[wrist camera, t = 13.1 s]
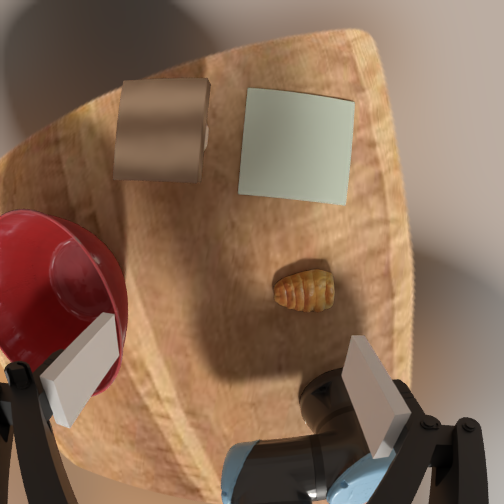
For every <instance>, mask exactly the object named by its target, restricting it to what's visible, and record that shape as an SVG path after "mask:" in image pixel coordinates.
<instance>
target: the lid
mask: <svg viewBox="0 0 504 504" xmlns="http://www.w3.org/2000/svg"><path fill="white" fill-rule="evenodd" d="M210 87H211V84H210V82H209V80H208V78H162V79H142V80H128V81H123V85H122V92H121V99H120V106H119V114H118V123H117V132H116V143H115V155H114V169H113V180H137V181H162V182H182V183H201V179H202V166H203V155H204V144H205V133H206V123H207V114H208V105H209V96H210Z"/></svg>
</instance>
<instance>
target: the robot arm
mask: <svg viewBox="0 0 504 504" xmlns="http://www.w3.org/2000/svg"><path fill="white" fill-rule="evenodd" d="M118 356H119V350H118V342H117V334H116V325H115V315H114V314H110V313H104V312H103V313H102V314H100V315H99V316H98V317H97V318H96V319H95V320H94V321H93V322H92V323H91V324H90V325H89V326H88V327H87V328H86V329H85V330H84V331H83V332H82V333H81V334H80V335H79V336H78V337H77V338H76V339H75V340H74V341H73V342H72V343H71V344H70V345H69V346H68V347H67V348H66V349H65V350H63V349H59V350H57V351H55V352H53V353H52V354H51V355H50V356H49V357H48V358H47V359H46V360H45V361H44V362H43V364H41V365H40V366H39V367H38V368H37V369H36V370H35V371H34V372H33V373H32V371H31V368H30V365H29V364H28V363H27V362H24V361H15V362H11V363H10V364H8V365H7V366H6V367H5V370H4V372H5V375H6V378H7V380H8V383H1V382H0V504H7V501H8V500H7V499H8V480H9V468H10V458H11V449H12V442H13V434H14V436H15V443H16V449H17V454H18V460H19V465H20V470H21V475H22V479H23V483H24V488H25V492H26V495H27V499H28V502H29V504H78V502H77V500H76V498H75V495H74V492H73V490H72V487H71V485H70V482H69V480H68V477H67V474H66V471H65V469H64V466H63V463H62V460H61V457H60V454H59V450H58V447H57V444H56V440H55V437H54V433H53V430H52V426H51V423H50V421H49V419H50V418H51V416H52V415H53V416H54V419H55V421H56V423H57V424H59V425H62V426H65V427H68V428H71V426H72V424H73V423H74V421H75V420H76V418H77V417H78V415H79V414H80V412H81V411H82V409H83V408H84V406H85V405H86V403H87V402H88V400H89V399H90V397H91V396H92V394H93V393H94V391H95V390H96V388H97V387H98V385H99V384H100V382H101V381H102V380H103V378H104V377H105V375H106V374H107V372H108V371H109V369H110V368H111V367H112V365H113V364H114V362H115V361H116V359H117V358H118ZM300 408H301V414H302V417H303V419H304V421H305V422H306V423H307V425H308V426H309V427H310V429H311V430H312V431H313V433H314V435H306V436H299V437H292V438H283V439H272V440H256V441H252V442H243V443H237V444H235V445H233V446H232V447H231V448H230V450H229V451H228V453H227V455H226V458H225V461H224V465H223V470H222V478H221V489H222V494H221V497H222V502H223V504H312V501H319V500H325V499H327V502H328V503H329V504H363V503H366V502H367V503H366V504H411V503H412V501H413V499H414V496H415V494H416V493H417V490H418V488H419V486H420V484H421V481H422V479H423V477H424V474H425V472H426V470H427V467H432V476H431V486H430V496H429V504H489V499H488V481H487V469H486V459H485V451H484V443H483V437H482V430H481V426H480V424H479V423H478V422H477V421H476V420H474V419H472V418H468V417H463V418H461V419H459V420H458V421H457V423H456V425H455V426H449V425H441V423H440V421H439V420H438V419H436V418H435V417H433V416H430V415H425V413H424V412H423V410H422V408H421V407H420V405H419V404H418V402H417V401H416V399H415V398H414V396H413V394H412V393H411V391H410V389H409V388H408V386H407V385H406V384H405V383H403V382H402V381H401V380H400V379H397V380H392V379H391V378H390V376H389V374H388V373H387V371H386V369H385V368H384V366H383V364H382V363H381V361H380V360H379V358H378V356H377V355H376V353H375V352H374V350H373V348H372V347H371V345H370V344H369V342H368V340H367V339H366V337H365V336H364V335H352V336H351V340H350V344H349V348H348V352H347V356H346V360H345V364H344V367H343V368H341V369H336V370H332V371H329V372H327V373H324V374H322V375H321V376H319V377H317V378H316V379H314V380H313V381H312V382H311V383H310V384H309V385H308V386H307V387H306V388H305V390H304V391H303V393H302V396H301V399H300Z"/></svg>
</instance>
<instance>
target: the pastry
mask: <svg viewBox="0 0 504 504" xmlns="http://www.w3.org/2000/svg"><path fill="white" fill-rule="evenodd" d="M334 295H335V291H334V280H333V275H332V274H331V273H330V272H327V271H323V270H320V269H314V270H308V271H304V272H300V273H297V274H294V275H291V276H287V277H285V278H283V279H281V280H280V281H278V282H277V283H276V284H275V286H274V300H275V301H276V302H277V303H278V304H279V305H281V306H285V307H287V308H288V309H294V310H296V311H303V312H311V311H315V312H317V313H318V312H321V311H323V310H324V309H329V308H330V307H332V305H333V302H334Z"/></svg>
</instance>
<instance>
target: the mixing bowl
mask: <svg viewBox="0 0 504 504" xmlns="http://www.w3.org/2000/svg"><path fill="white" fill-rule="evenodd" d="M103 312H104V313H110V314H114V315H115V325H116V334H117V342H118V350H119V356H118V358H117V359H116V361H115V362H114V364H113V365H112V367H111V368H110V369H109V371H108V372H107V374H106V375H105V377H104V378H103V380H102V381H101V382H100V384H99V385H98V387H97V388H96V390H95V391H94V393H93V394H92V396H96V395H98V394H100V393H102V392H103V391H105V390H106V389H107V388H108V387H109V386H110V385H111V384H112V383H113V381H114V380H115V378H116V377H117V374H118V372H119V370H120V367H121V362H122V356H123V347H124V342H125V337H126V331H127V323H128V297H127V290H126V285H125V280H124V276H123V274H122V271H121V268H120V266H119V264H118V262H117V260H116V259H115V257H114V255H113V254H112V252H111V251H110V250H109V249H108V247H107V246H106V245H105V244H104V243H103V242H102V241H101V240H100V239H99V238H97V237H96V236H95V235H94V234H92V233H91V232H89V231H88V230H86V229H85V228H83V227H81V226H79V225H77V224H75V223H73V222H71V221H68V220H65V219H62V218H59V217H55V216H52V215H47V214H44V213H41V212H38V211H35V210H30V209H17V210H12V211H9V212H7V213H5V214H3V215H1V216H0V349H1V350H2V351H3V353H4V354H5V355H6V357H7V358H8V359H9V360H10V361H11V362H15V361H24V362H27V363H28V364H29V365H30V368H31V371H32V373H33V372H34V371H35V370H36V369H37V368H38V367H39V366H40V365H41V364H43V362H44V361H45V360H46V359H47V358H48V357H49V356H50V355H51V354H52V353H53V352H55V351H57V350H59V349H63V350H65V349H66V348H67V347H68V346H69V345H70V344H71V343H72V342H73V341H74V340H75V339H76V338H77V337H78V336H79V335H80V334H81V333H82V332H83V331H84V330H85V329H86V328H87V327H88V326H89V325H90V324H91V323H92V322H93V321H94V320H95V319H96V318H97V317H98V316H99V315H100V314H102V313H103ZM92 396H91V397H92Z"/></svg>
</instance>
